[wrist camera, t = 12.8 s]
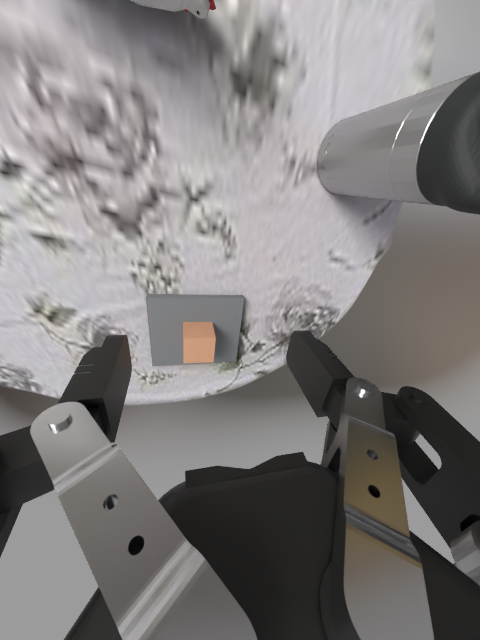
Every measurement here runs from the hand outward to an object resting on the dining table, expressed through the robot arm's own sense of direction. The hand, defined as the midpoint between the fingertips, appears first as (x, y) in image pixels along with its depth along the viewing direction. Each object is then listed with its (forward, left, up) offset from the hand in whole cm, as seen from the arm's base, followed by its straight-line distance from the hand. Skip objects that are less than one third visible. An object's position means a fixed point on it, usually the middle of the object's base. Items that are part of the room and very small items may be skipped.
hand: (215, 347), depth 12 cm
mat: (-1, +17, -28) cm, 33 cm away
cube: (-1, +17, -27) cm, 32 cm away
